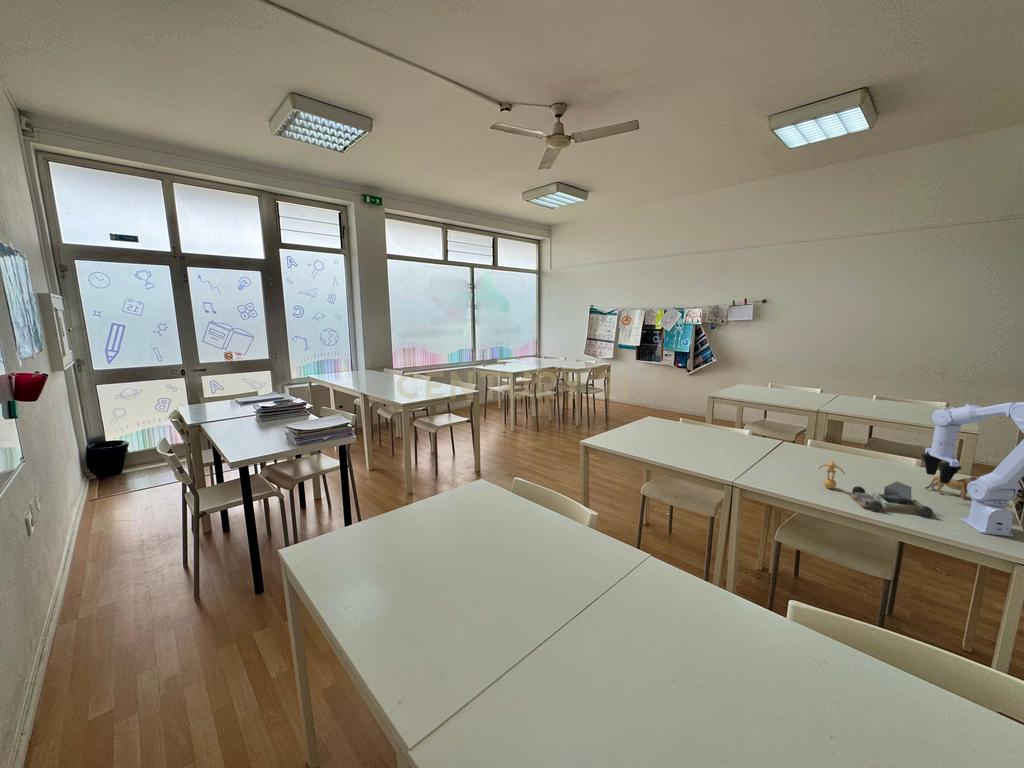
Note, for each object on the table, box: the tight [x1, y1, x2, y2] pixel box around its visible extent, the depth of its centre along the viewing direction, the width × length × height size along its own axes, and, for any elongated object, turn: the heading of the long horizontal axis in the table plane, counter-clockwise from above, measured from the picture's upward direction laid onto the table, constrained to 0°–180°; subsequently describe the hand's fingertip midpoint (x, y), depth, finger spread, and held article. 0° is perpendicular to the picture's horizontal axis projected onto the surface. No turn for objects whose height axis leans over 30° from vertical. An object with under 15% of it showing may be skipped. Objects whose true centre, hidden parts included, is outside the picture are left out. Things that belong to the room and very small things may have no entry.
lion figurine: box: [924, 475, 980, 501], centre depth 156 cm, size 15×5×9 cm, turn 46°
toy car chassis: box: [848, 485, 936, 518], centre depth 149 cm, size 13×20×4 cm
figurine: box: [818, 460, 845, 489], centre depth 162 cm, size 8×6×12 cm
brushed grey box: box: [883, 481, 912, 504], centre depth 148 cm, size 4×6×6 cm
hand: (937, 478), depth 149 cm, fingers open, 7 cm apart
